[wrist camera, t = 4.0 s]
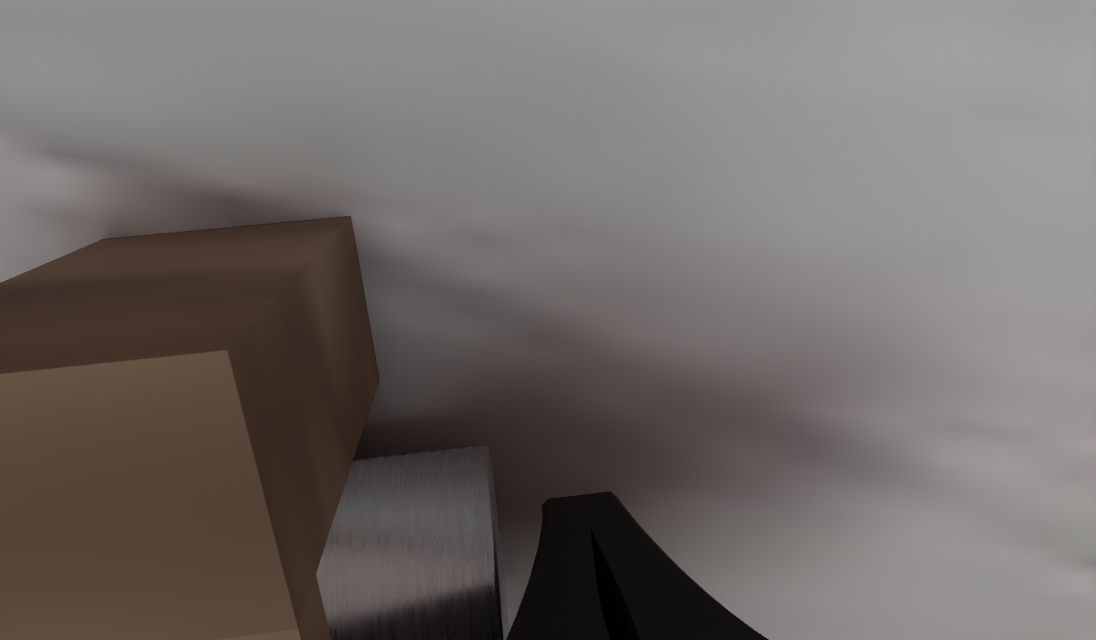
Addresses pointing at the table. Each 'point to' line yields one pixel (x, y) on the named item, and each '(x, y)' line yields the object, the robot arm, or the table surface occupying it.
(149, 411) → the beam
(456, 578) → the axle
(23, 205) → the table surface
